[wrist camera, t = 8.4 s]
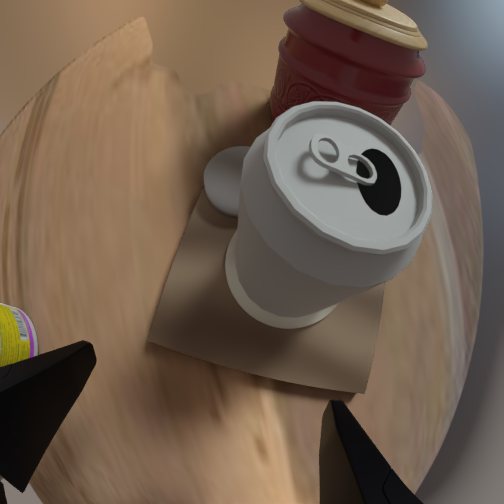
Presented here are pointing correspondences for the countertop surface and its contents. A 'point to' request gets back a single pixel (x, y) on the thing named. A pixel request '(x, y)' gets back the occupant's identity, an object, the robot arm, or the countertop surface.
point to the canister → (347, 57)
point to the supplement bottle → (16, 336)
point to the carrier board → (249, 313)
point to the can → (327, 208)
